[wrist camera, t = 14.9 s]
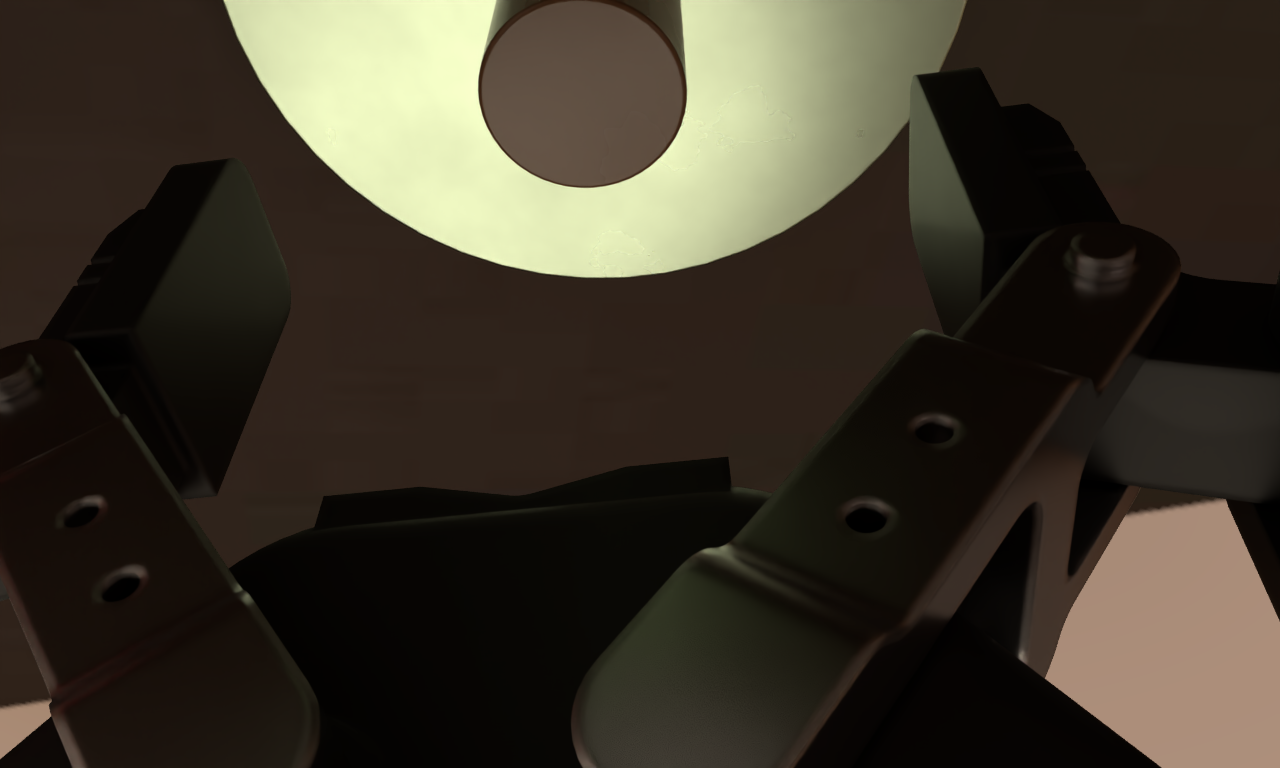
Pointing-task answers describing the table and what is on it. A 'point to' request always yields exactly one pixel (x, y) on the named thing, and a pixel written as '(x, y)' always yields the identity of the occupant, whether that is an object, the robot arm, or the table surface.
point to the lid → (596, 115)
